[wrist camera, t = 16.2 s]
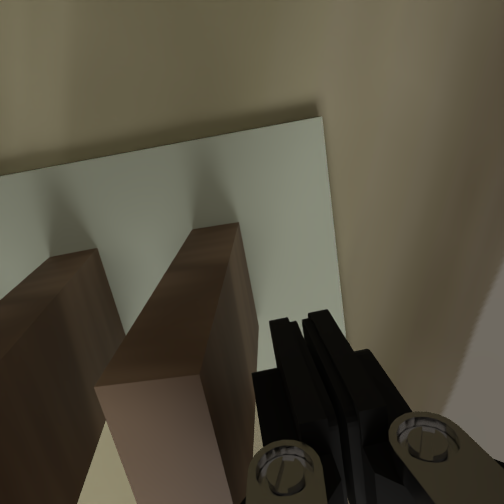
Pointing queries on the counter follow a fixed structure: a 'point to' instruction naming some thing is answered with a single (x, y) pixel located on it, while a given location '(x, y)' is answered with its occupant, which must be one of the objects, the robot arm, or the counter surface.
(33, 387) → the domino
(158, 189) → the mat
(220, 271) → the domino
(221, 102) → the counter surface
